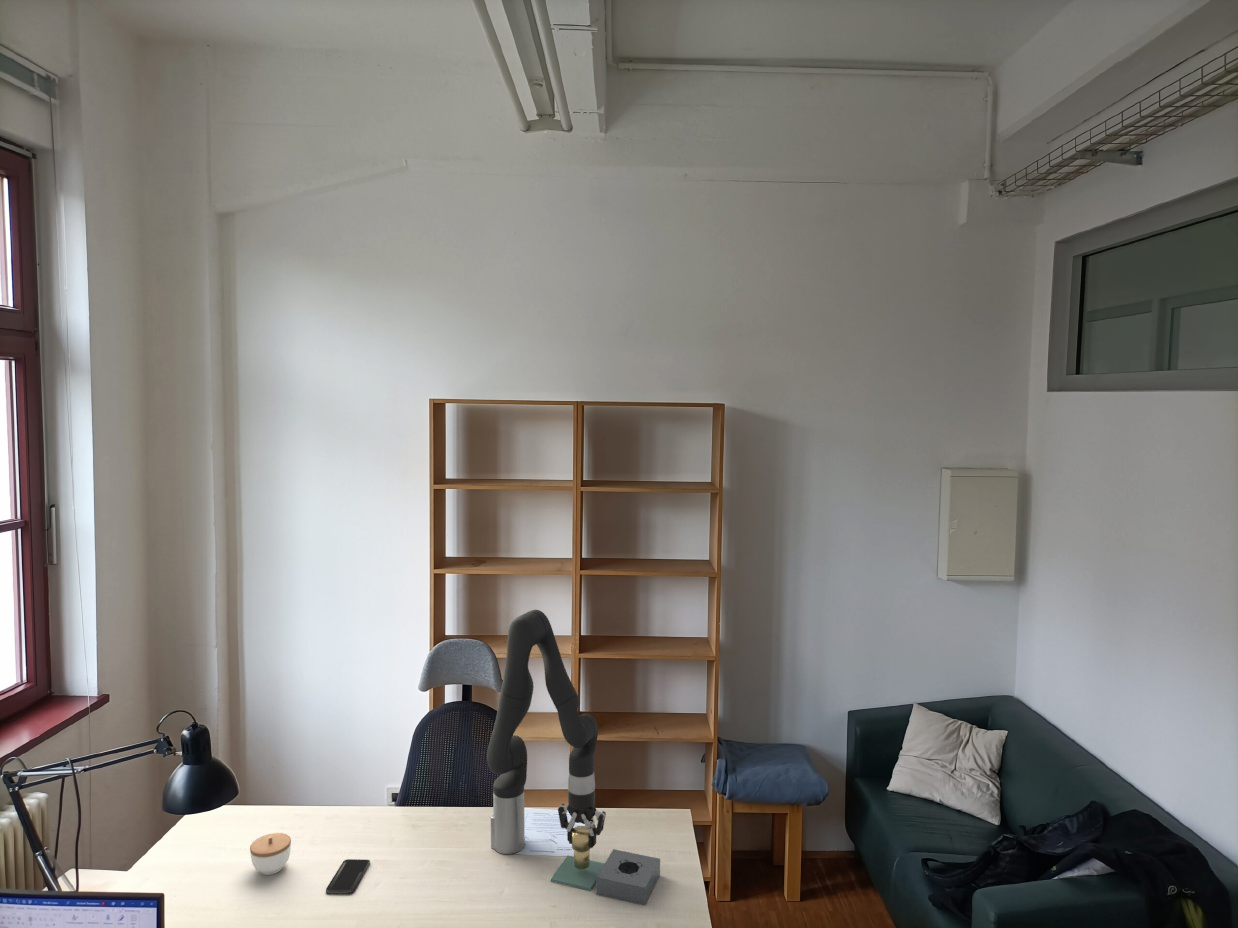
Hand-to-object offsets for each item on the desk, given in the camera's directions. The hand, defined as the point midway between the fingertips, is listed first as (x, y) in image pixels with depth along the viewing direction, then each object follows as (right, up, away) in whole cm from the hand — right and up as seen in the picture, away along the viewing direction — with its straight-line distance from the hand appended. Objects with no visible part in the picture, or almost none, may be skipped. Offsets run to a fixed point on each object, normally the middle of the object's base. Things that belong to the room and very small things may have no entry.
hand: (581, 844), depth 224 cm
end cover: (0, -6, 0) cm, 6 cm away
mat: (-1, -9, +1) cm, 9 cm away
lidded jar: (-89, -9, +3) cm, 90 cm away
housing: (+13, -9, -4) cm, 17 cm away
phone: (-66, -10, -1) cm, 66 cm away
